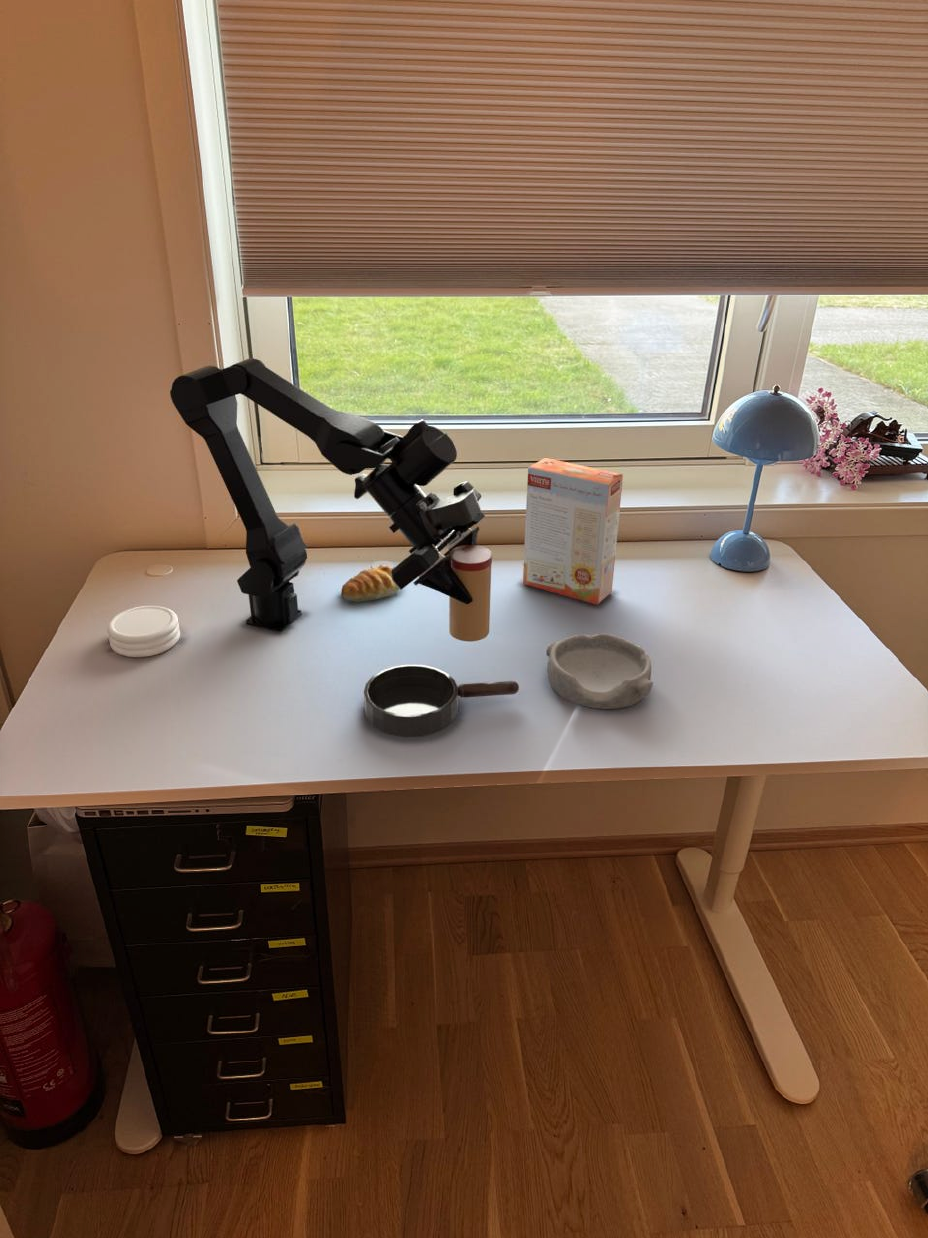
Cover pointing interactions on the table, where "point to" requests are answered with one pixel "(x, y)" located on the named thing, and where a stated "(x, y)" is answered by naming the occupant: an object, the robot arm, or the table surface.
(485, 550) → the cracker tube
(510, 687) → the pan handle
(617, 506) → the cracker box
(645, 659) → the dish
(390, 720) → the pan
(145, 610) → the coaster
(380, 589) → the pastry
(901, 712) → the table surface
